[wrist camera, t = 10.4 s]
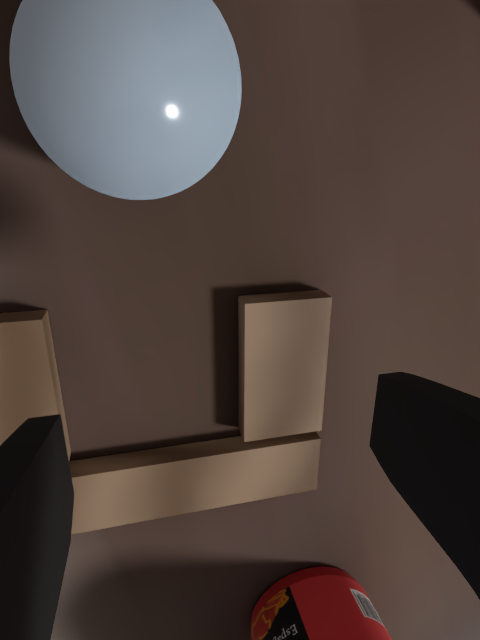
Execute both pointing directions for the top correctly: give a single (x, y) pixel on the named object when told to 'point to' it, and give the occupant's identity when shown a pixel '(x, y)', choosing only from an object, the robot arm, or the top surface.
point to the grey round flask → (127, 90)
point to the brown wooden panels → (201, 457)
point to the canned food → (316, 609)
